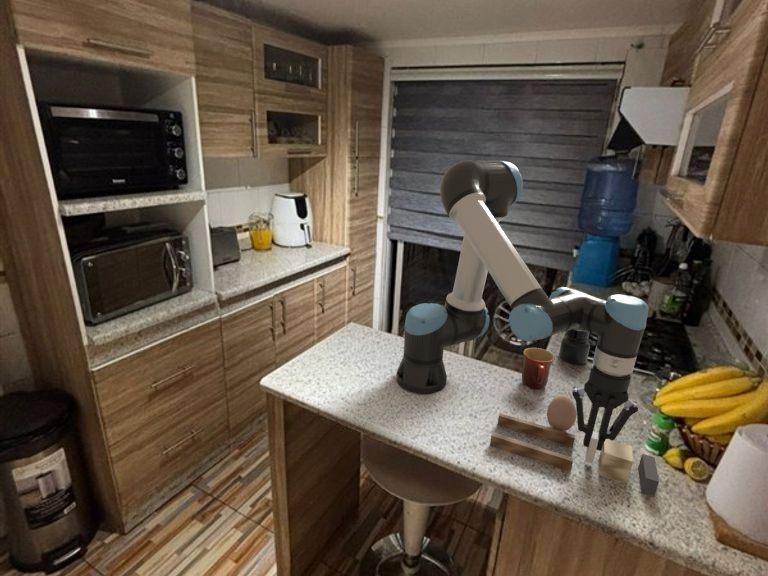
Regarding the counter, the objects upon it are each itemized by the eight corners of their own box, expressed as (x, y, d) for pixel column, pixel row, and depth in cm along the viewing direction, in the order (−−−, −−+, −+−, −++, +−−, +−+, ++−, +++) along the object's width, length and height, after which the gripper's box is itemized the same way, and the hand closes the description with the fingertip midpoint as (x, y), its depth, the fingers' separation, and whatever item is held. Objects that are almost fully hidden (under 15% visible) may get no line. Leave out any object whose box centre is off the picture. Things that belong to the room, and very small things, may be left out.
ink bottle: (591, 359, 143) (598, 328, 139) (582, 369, 137) (589, 335, 133) (563, 349, 149) (569, 319, 145) (553, 358, 143) (559, 326, 139)
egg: (577, 429, 107) (584, 397, 104) (565, 441, 103) (573, 408, 99) (551, 417, 112) (557, 385, 108) (539, 428, 107) (545, 395, 104)
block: (598, 474, 93) (604, 453, 91) (598, 459, 97) (604, 438, 95) (626, 484, 90) (633, 461, 88) (625, 467, 95) (631, 446, 93)
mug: (517, 375, 131) (521, 346, 128) (546, 379, 130) (551, 349, 126) (521, 396, 120) (526, 365, 117) (553, 401, 119) (559, 369, 115)
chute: (489, 445, 100) (491, 435, 99) (498, 422, 109) (499, 413, 108) (570, 472, 93) (573, 461, 92) (572, 445, 101) (575, 435, 100)
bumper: (641, 492, 88) (645, 477, 87) (638, 467, 95) (642, 453, 94) (654, 496, 87) (659, 481, 86) (650, 471, 94) (654, 457, 93)
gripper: (577, 368, 87) (557, 459, 95) (649, 385, 82) (622, 480, 89) (578, 353, 93) (560, 439, 101) (645, 368, 88) (620, 458, 96)
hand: (589, 458), depth 95 cm, fingers closed
